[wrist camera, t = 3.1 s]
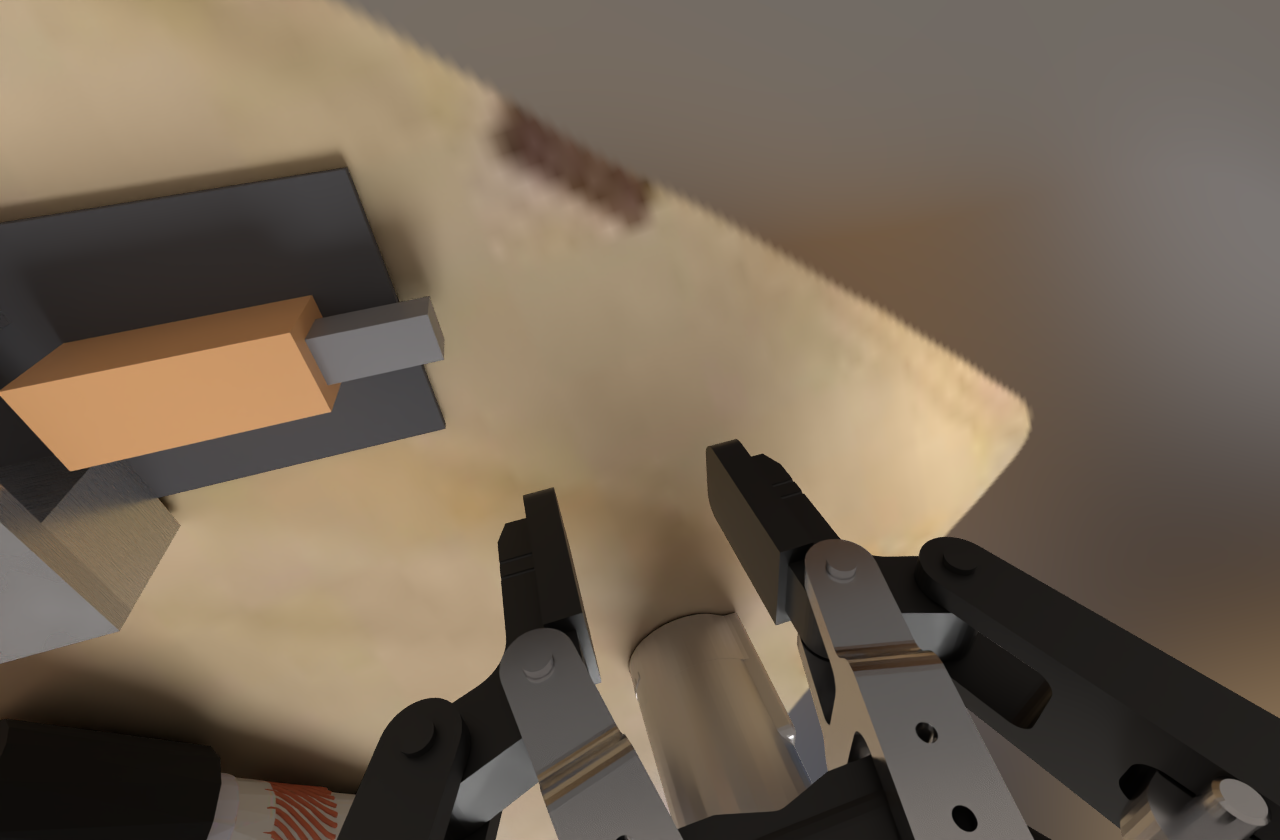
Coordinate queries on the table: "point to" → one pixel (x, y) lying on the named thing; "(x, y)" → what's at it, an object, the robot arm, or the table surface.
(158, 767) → the black white tapered bottle
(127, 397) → the plug
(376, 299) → the mat
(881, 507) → the table surface
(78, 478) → the housing
